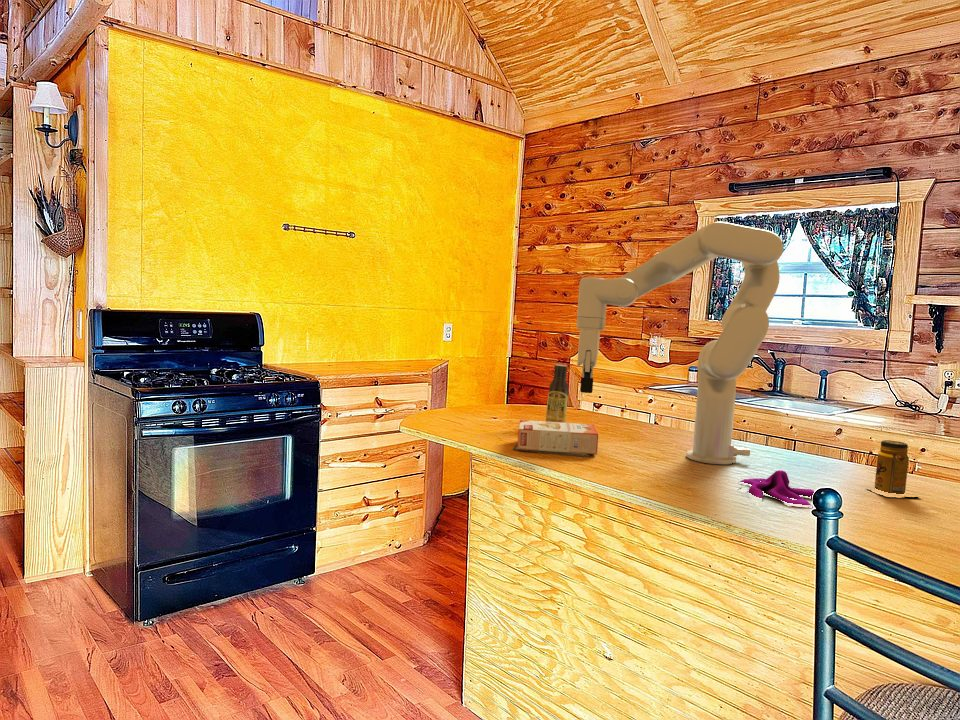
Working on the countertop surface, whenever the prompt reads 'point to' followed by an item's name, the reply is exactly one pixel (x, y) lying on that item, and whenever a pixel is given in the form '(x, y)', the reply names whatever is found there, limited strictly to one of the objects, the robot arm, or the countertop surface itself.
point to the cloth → (778, 488)
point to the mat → (552, 452)
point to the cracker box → (557, 437)
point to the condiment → (892, 467)
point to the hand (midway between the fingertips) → (586, 392)
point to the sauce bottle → (558, 396)
